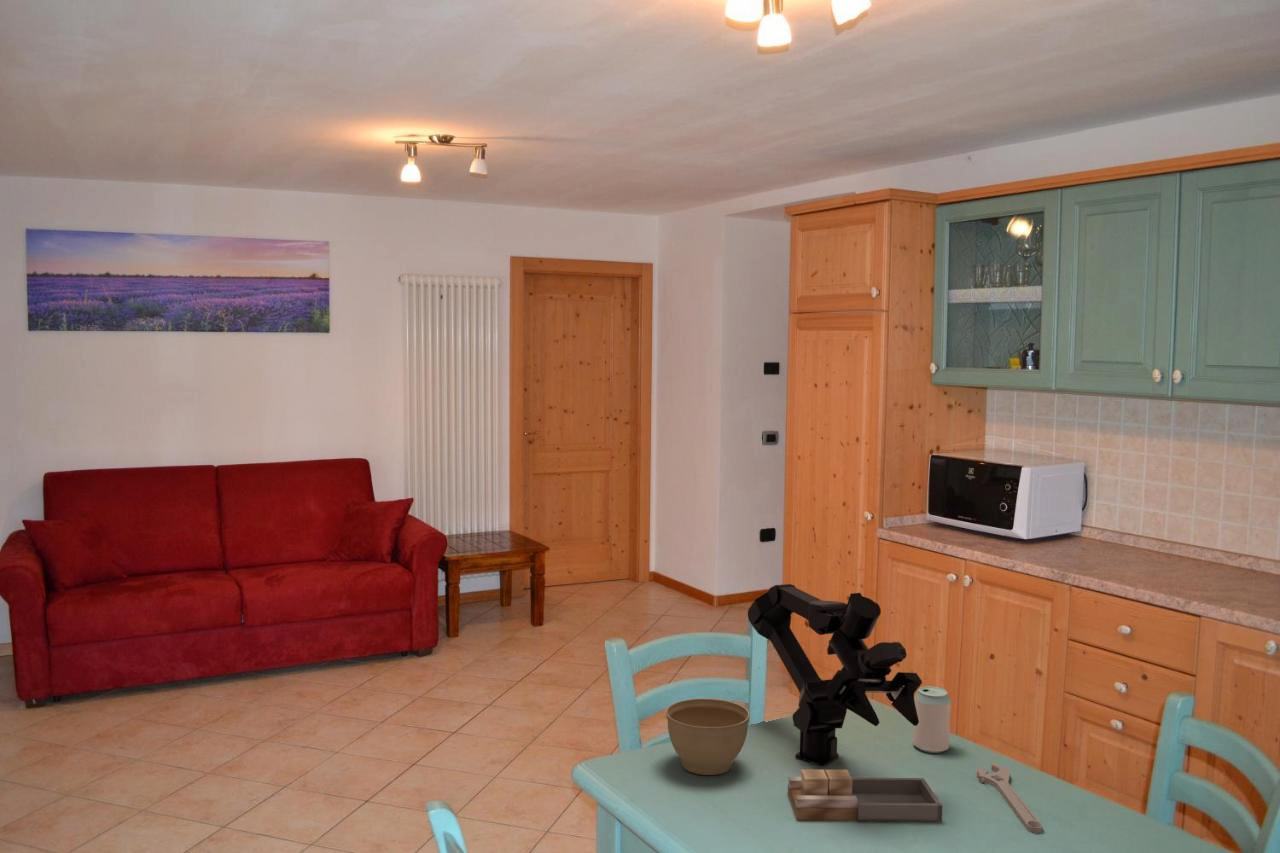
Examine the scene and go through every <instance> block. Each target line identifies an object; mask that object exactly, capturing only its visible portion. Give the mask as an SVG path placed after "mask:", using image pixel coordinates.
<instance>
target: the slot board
mask: <svg viewBox="0 0 1280 853" xmlns="http://www.w3.org/2000/svg"><path fill="white" fill-rule="evenodd" d="M787 796H788V797H787V798H788V800H789V802H790V805H791V807H792V810H793V813H794V816H795V819H796V821H857V822H858V808H857V801H858V800H857V798H856V796H815V795H802V793H801V776H788V783H787Z"/></svg>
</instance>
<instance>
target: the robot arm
mask: <svg viewBox="0 0 1280 853" xmlns="http://www.w3.org/2000/svg"><path fill="white" fill-rule="evenodd" d="M881 612H882V610H881V607H880V605H879V604H878V603H877V602H875V601H874V600H872V599H871V598H868V597H866V596H863V595H862V593H861V592H853V593H850V594H849V596H848V600H847V603H846V602H842V601H836V600H822V599H820V598H817V597H815V596H814V595H812V594H811V593H810V594H809V593H807V592H806V591H803V590H801V589H799V588H797V587H796V586H795V584H792V583H785V584H782V583H781V584H774V585H773V586H771V587H770V588H769V589H768V590H767V592H765V593H764V594H761V595H760V596H759V597H757V598H756V599H755V600H754V601H753V602H752V603H751V605H750V606H749V608H748V610H747V618H748V621H749V624H751V626H752V628H753V629H754V630H755V631H756V633H757V634H758V635H760V636H762V637H763V638H765V639H767V640H769V641H770V642H771V644H772V646H773V648H774V649H775V651H776V652H777V655H778V657H779V659H780V660H781V661H782V663H783V665H784V667H785V670H787V672H788V674H789V676H790V678H791V680H792V681H793V683H794V684H795V687H796V688H797V689H798V692H799V697H798V708H797V709H796V710H795V711H794V713H793V714H792V722H793V726H794V727H796V729H798V730H799V752H797V753H796V754H795V756H794V757H795V758H796V759H800V760H803V761H805V762H808V763H812V764H815V765H819V766H823V767H824V766H826V765H828V764H829V763H830V762H832V761H834V760H835V759H837V758H838V757H839V756H840V753H838V737H837V736H836V730H837V729H843V725H844V723H845V719H846V715H847V711H848V710H849V711H850V712H852V713H854V714H856V715H857V716H858V717H860V718H862V719H864V720H865V721H866V722H868V723H869V724H871V725H873V726H875V727H877V726H879V724H880V719H879V717H878V715H877V713H876V711H875V708H874V707H873V706H872V703H871V702H870V700H869V698H868V696H867V694H885V696H886V697H887V699H888V700H889V701H890V702H891V706H892V707H893V708H894V709H896V711H897V712H898V713H899V714H901V715H902V717H904V718H905V719H906V720H907V721H908V722H909V723H910V724H912V725H913V727H914V726H917V724H918V723H919V720H918V715H917V711H916V706H915V693H916V692H917V691H918V689H919V688H920V686H921V685H922V683H923V681H922V679H921V677H919V675H918V673H917V672H911V671H910V672H908V671H907V672H905V671H898V672H896V674H895V675H894V676H893V678H892V679H891V680H887V677H886V676H889V675H890V674H891V673H892V669H891V667H892V666H894V665H896V664H897V663H901V662H902V661H904V660H905V659H906V658H907V652H906V651H907V650H906V648H905V647H904V646H903V645H902V643H901V642H899V641H892V642H890V641H889V642H886V641H885V642H884V641H882V642H879V643H876V644H874V645H873V646H871V647H870V648H869V647H868V645H866V643H865V641H864V640H865V639H868V638H869V637H870V636H871V634H872V632H873V630H874V628H875V626H876V624H877V621H878V619H879V617H880V616H881ZM793 614H796V615H797V616H800V617H801V618H804V619H806V620H807V622H808V627H809V628H810V629H811V630H813V631H814V632H815V633H816V634H817V635H819V636H823V635H824V636H825V635H831V637H830V639H829V640H828V646H827V649H826V653H827V655H829V656H831V655H832V656H833V655H836V657H837V658H838V660H839V661H840V663H841V665H842V668H841V670H840V669H839V670H838V669H837V671H836V673H835V674H834V675H833V676H832V678H830V679H821V677H820V676H819V674H818V671H816V669H815V668H814V666H813V664H812V662H811V660H810V659H809V658H808V655H807V654H806V652H805V651H804V649H803V647H802V646H801V644H800V643H799V641H798V639H797V637H796V636H795V634H794V632H793V631H792V629H791V622H792V615H793Z"/></svg>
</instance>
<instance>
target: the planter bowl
mask: <svg viewBox="0 0 1280 853" xmlns="http://www.w3.org/2000/svg"><path fill="white" fill-rule="evenodd" d="M665 714H666V715H665V716H666V719H667V730H668V734H669V735H668V736H669V739H670V742H671V744H672V747H673V749H674V751H675V753H676V755H677V756H678V757H679V759H680V760H681V765H682V767H683V768H684V770H686V771H688V772H690V773H692V774H696V775H702V776H717V775H722V774H725V773H727V772H728V771H730V769H732V764H733V762H734V761H735V759H737V757H738V756H739V754H740V752H741V751H742V749H743V746H744V744H745V743H746V738H747V735H748V727H749V723H750V722H749V721H750V715H751V714H750V712H749V710H748V709H747V708H746V707H745V706H743V705H742V704H740V703H736V702H733V701H730V700H725V699H718V698H717V699H716V698H703V697H702V698H689V699H683V700H680V701H677V702H674V703H672V704H670V705H669V706H668V707H667V708H666V711H665Z"/></svg>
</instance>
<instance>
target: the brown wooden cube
mask: <svg viewBox="0 0 1280 853" xmlns="http://www.w3.org/2000/svg"><path fill="white" fill-rule="evenodd" d="M800 770H801V771H800V777H801V793H802V795H815V796H828V778H827V776H826V774H825V770H824V769H802V768H801V769H800Z"/></svg>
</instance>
